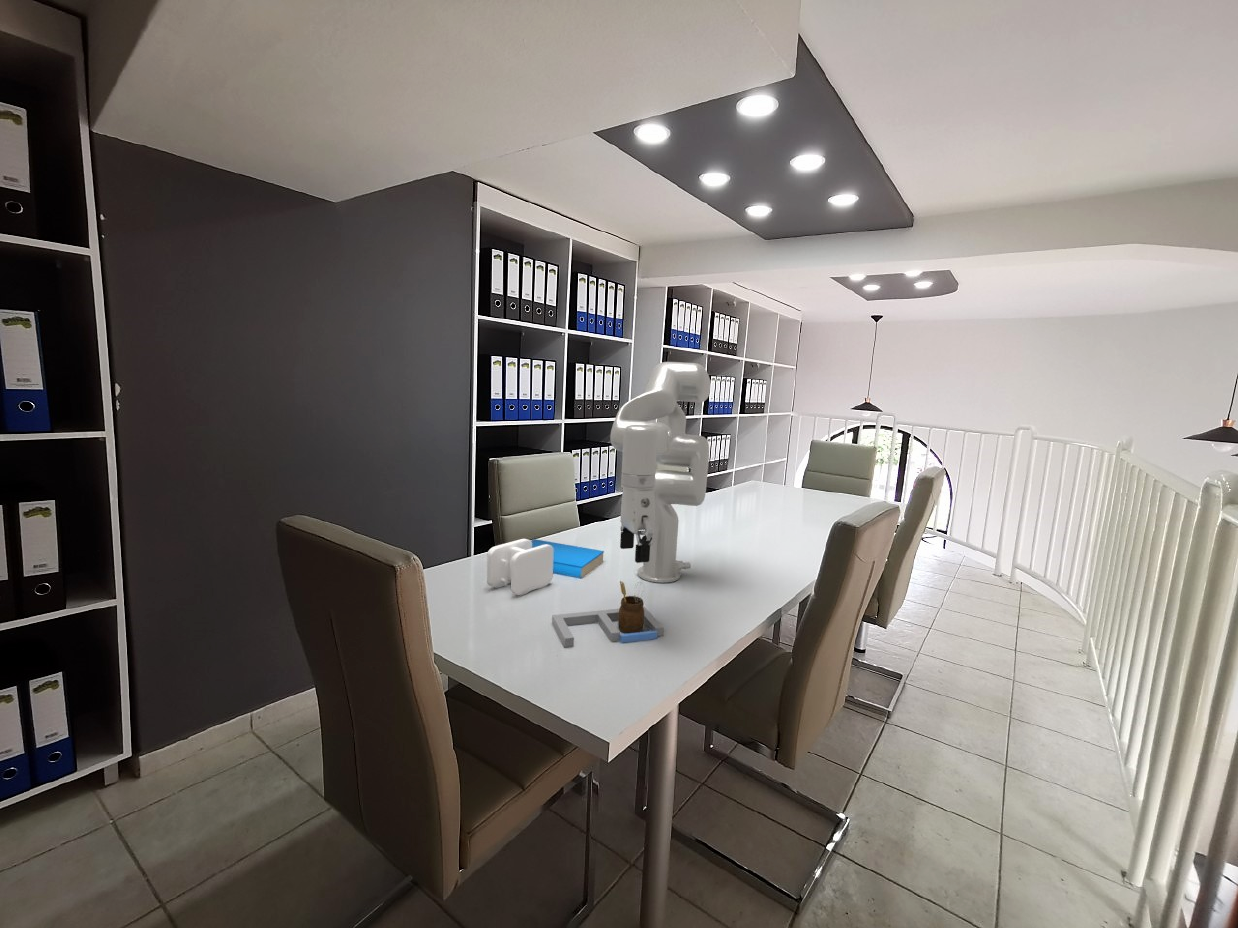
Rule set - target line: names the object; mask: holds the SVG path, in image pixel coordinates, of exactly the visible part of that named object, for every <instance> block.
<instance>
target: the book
mask: <svg viewBox="0 0 1238 928" xmlns="http://www.w3.org/2000/svg"><path fill="white" fill-rule="evenodd" d="M530 541H531V542H532V548H534V547H538V546H541V545H545V544H547V545H551V546H552V547H553V549H554V554H553V574H557V575H562V576H568V577H573V578H578V579H582V578H584V577H585V576H586V575H588V574H589V573H591V572H592V571H593V570H595V569H596V568H597V567H598V566H599V565H601V564H602V563H603V561H604V553H605V551H604V550H599V549H593V548H589V547H588V548H587V547H582V546H578V545H577V546H575V545H571V544H565V543H560V542H559V543H558V542H554V541H553V542H552V541H548V540H542V539H532V540H530Z"/></svg>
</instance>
